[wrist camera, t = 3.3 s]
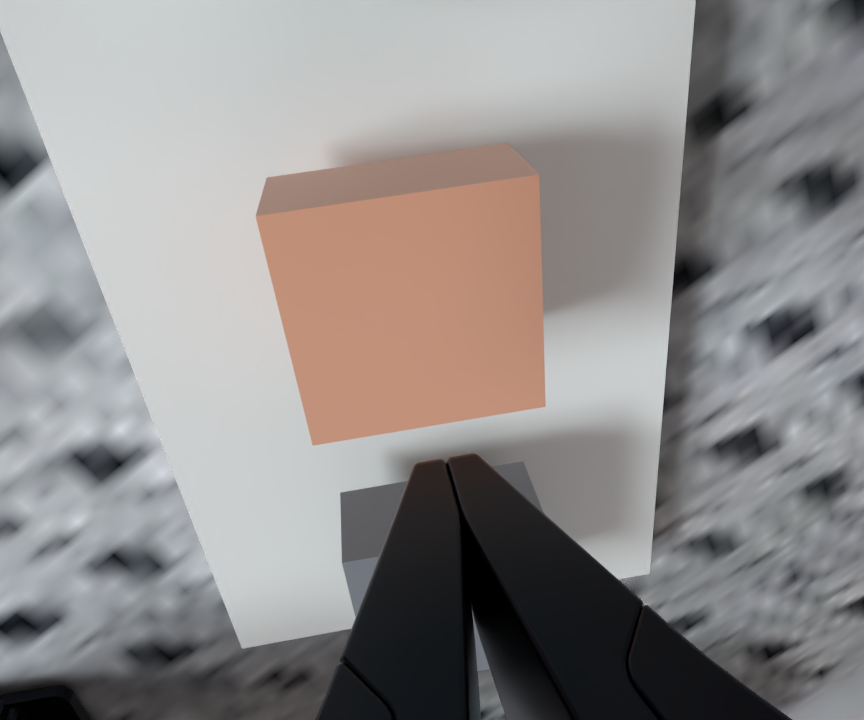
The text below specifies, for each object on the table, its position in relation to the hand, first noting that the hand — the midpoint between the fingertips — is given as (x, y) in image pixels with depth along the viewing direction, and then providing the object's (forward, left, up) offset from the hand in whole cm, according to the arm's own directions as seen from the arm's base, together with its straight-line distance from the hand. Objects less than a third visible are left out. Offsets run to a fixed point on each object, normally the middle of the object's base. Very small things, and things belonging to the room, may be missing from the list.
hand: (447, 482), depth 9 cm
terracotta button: (0, 0, -7) cm, 7 cm away
